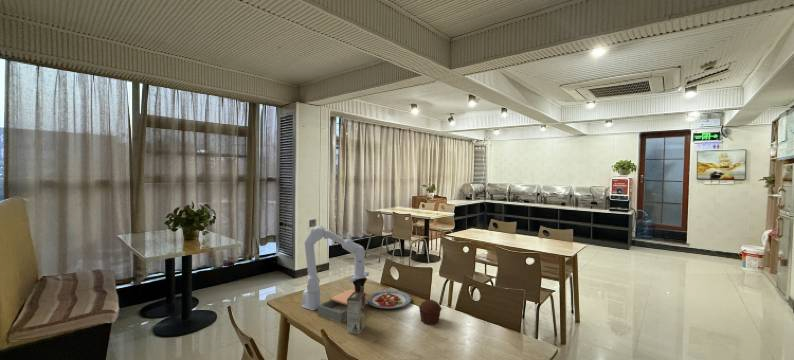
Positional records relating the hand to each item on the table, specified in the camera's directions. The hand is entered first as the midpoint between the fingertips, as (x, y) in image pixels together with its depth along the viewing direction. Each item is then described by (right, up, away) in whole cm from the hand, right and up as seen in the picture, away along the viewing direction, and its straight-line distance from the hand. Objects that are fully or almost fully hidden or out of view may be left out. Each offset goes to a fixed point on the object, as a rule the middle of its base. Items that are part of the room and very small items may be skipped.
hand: (359, 291), depth 187 cm
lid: (-4, -2, -5) cm, 7 cm away
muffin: (+38, -8, -20) cm, 44 cm away
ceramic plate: (+16, -7, +3) cm, 18 cm away
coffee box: (+2, -8, -29) cm, 30 cm away
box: (-9, -7, -13) cm, 17 cm away
